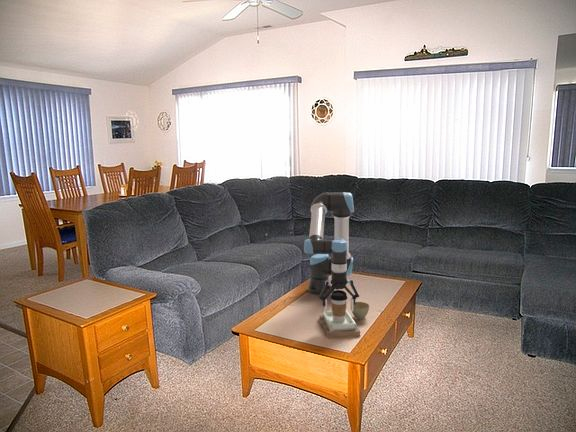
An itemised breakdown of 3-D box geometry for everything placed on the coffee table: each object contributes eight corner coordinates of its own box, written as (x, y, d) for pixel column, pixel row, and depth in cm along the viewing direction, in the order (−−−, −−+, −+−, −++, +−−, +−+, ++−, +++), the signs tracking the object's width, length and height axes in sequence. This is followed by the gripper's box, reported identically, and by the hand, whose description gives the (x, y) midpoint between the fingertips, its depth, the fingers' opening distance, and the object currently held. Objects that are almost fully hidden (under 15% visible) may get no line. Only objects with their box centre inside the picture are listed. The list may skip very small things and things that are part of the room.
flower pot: (355, 322, 222) (355, 309, 221) (347, 315, 231) (347, 302, 230) (372, 320, 224) (372, 307, 223) (364, 313, 234) (364, 300, 233)
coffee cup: (345, 317, 220) (345, 289, 218) (348, 324, 212) (348, 295, 209) (329, 317, 220) (329, 290, 217) (331, 324, 212) (331, 296, 209)
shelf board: (319, 319, 226) (319, 315, 226) (348, 317, 228) (348, 313, 228) (328, 338, 205) (328, 333, 204) (360, 336, 207) (360, 331, 206)
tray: (322, 316, 224) (322, 311, 223) (346, 314, 226) (346, 309, 225) (330, 331, 206) (330, 325, 206) (356, 329, 208) (356, 323, 207)
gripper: (315, 274, 206) (316, 315, 210) (365, 271, 209) (364, 312, 213) (313, 270, 213) (313, 309, 217) (361, 267, 216) (360, 306, 220)
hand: (338, 311), depth 215 cm, fingers open, 13 cm apart
